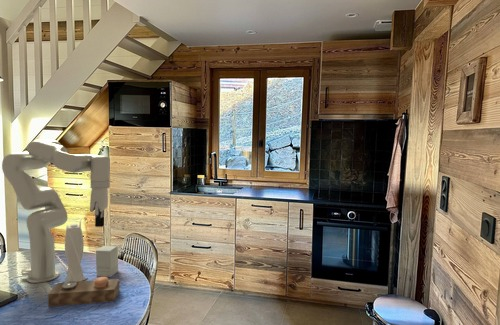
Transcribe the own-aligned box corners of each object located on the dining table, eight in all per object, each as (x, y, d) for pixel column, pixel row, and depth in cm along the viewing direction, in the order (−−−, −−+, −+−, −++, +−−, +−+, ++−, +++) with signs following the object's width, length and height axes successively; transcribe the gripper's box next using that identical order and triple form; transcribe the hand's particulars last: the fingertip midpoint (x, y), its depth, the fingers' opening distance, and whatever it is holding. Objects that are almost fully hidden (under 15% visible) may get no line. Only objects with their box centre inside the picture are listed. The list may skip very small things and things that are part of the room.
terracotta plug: (92, 297, 131) (92, 282, 130) (96, 291, 136) (96, 277, 135) (106, 296, 132) (106, 281, 131) (109, 290, 137) (109, 276, 136)
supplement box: (118, 271, 160) (118, 245, 159) (110, 277, 153) (110, 251, 152) (104, 270, 161) (104, 245, 160) (95, 276, 153) (95, 250, 153)
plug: (60, 302, 129) (59, 287, 128) (65, 296, 134) (64, 281, 133) (74, 301, 130) (74, 286, 129) (78, 295, 135) (78, 280, 134)
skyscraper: (90, 279, 150) (88, 219, 148) (75, 286, 143) (74, 223, 141) (75, 276, 153) (74, 218, 151) (60, 283, 145) (59, 222, 143)
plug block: (48, 306, 126) (48, 294, 125) (58, 294, 135) (58, 282, 135) (114, 301, 130) (114, 289, 130) (119, 290, 140) (119, 278, 140)
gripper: (96, 181, 147) (95, 221, 148) (85, 187, 132) (84, 231, 133) (113, 182, 148) (113, 221, 149) (104, 187, 133) (103, 231, 135)
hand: (99, 226), depth 141 cm, fingers closed
